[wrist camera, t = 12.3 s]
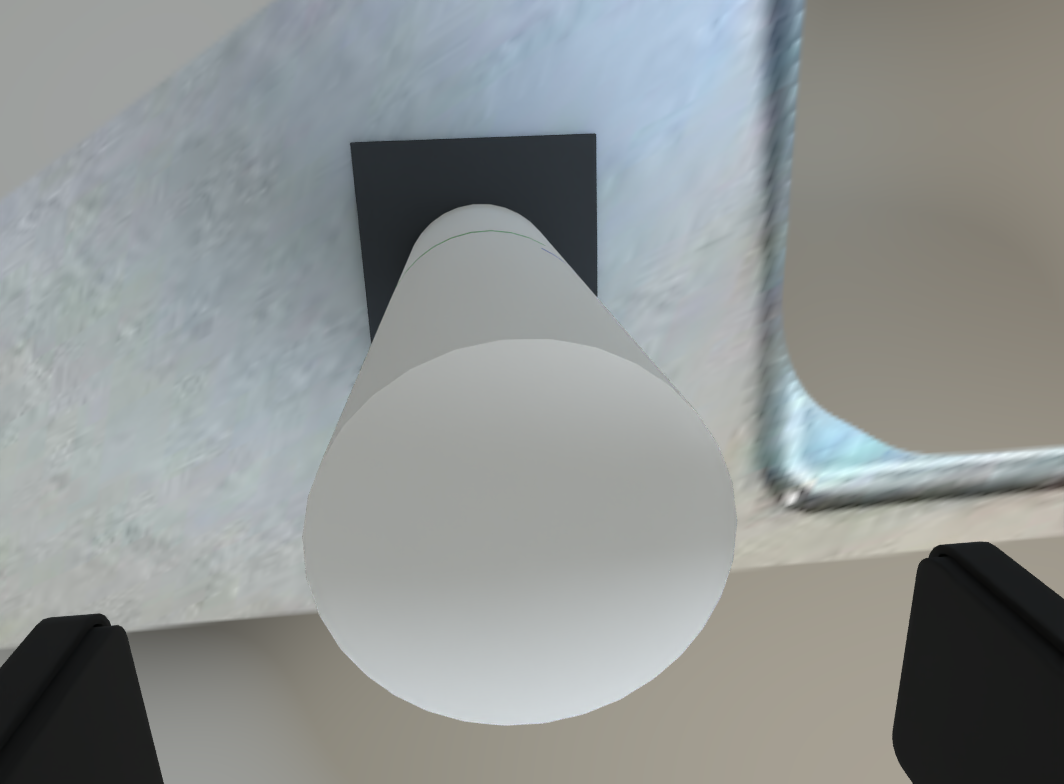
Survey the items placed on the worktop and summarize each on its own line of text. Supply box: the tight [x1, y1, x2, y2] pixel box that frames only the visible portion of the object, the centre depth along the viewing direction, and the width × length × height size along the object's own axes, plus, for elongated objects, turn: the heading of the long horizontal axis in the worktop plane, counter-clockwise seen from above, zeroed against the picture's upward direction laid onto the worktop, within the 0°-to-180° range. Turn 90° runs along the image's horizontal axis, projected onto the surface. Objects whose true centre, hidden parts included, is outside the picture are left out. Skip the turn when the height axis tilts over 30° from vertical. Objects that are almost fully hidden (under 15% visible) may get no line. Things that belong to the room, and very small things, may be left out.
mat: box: [350, 134, 597, 344], centre depth 36 cm, size 13×11×1 cm
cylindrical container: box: [302, 204, 737, 726], centre depth 24 cm, size 7×7×25 cm
